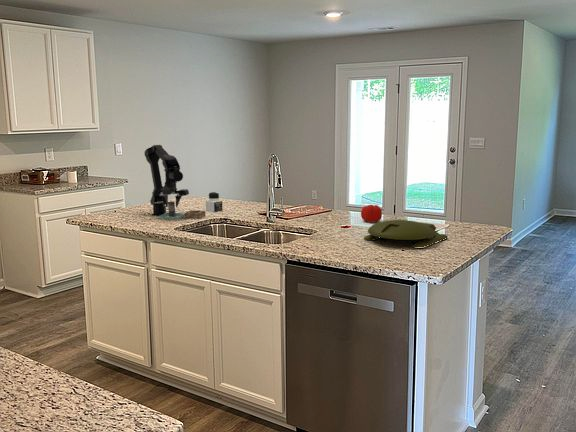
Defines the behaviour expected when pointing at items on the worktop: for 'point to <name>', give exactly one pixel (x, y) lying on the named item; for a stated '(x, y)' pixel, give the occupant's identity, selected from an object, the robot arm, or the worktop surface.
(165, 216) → the tray
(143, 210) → the worktop surface
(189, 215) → the socket block
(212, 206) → the medicine bottle
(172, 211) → the stop pin
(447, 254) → the worktop surface
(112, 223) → the worktop surface
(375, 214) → the tomato
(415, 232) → the olive green domed shape
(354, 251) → the worktop surface
